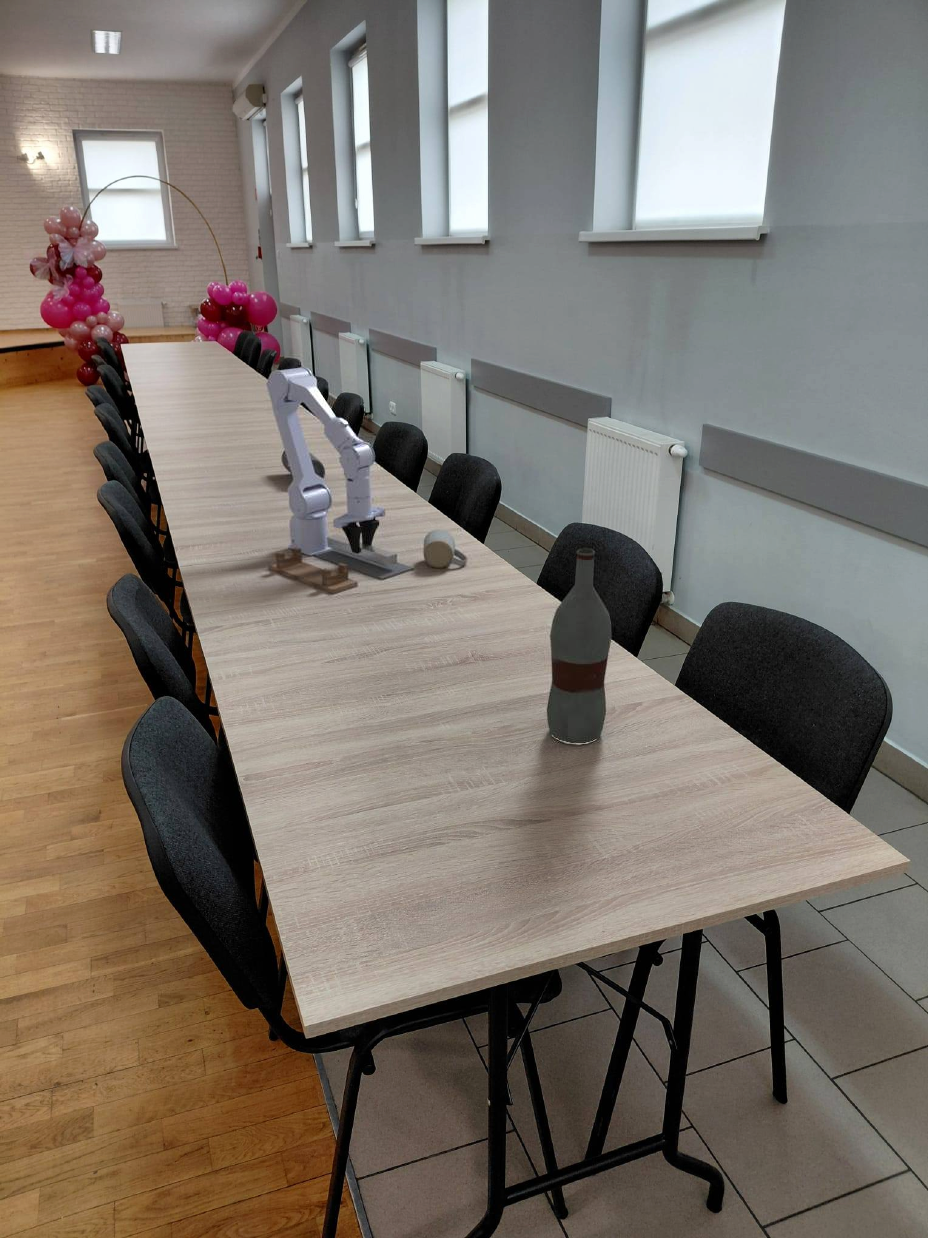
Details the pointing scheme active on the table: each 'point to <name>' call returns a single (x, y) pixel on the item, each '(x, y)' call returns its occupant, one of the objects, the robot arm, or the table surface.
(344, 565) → the walnut standards
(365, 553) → the steel rail
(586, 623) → the bottle
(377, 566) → the rubber mat
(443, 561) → the ceramic mug
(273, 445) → the table surface
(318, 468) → the bluetooth speaker
